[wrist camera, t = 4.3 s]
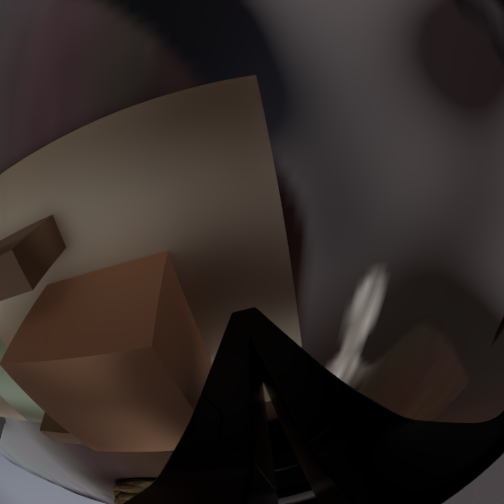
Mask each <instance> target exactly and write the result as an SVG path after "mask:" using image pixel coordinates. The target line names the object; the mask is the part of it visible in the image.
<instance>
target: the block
mask: <svg viewBox="0 0 504 504" xmlns="http://www.w3.org/2000/svg"><path fill="white" fill-rule="evenodd" d="M0 365H1V366H2V368H3V369H4V370H5V371H6V372H7V373H8V375H9V376H10V377H11V378H12V379H13V380H14V381H15V382H16V384H17V385H18V386H19V387H20V388H21V389H22V390H23V391H24V392H25V393H26V394H27V395H28V396H29V397H30V398H31V399H32V400H33V401H34V402H35V403H36V404H37V405H38V406H39V407H40V408H41V409H42V410H44V411H45V412H46V413H47V414H48V415H49V416H50V417H51V418H53V419H54V420H55V421H56V422H57V423H58V424H60V425H61V426H62V427H63V428H64V429H66V430H67V431H68V432H69V433H71V434H72V435H73V436H74V437H76V438H77V439H78V440H80V441H81V442H82V443H84V444H85V445H87V446H88V447H89V448H91V449H92V450H94V451H109V452H154V451H171V450H174V449H175V447H176V446H177V444H178V442H179V440H180V438H181V437H182V435H183V433H184V431H185V429H186V427H187V425H188V423H189V421H190V419H191V417H192V414H193V412H194V410H195V407H196V405H197V402H198V399H199V397H200V396H201V392H202V389H203V387H204V384H205V381H206V379H207V376H208V374H209V371H210V368H211V366H212V362H211V356H210V354H209V352H208V350H207V348H206V345H205V343H204V341H203V339H202V336H201V334H200V332H199V329H198V327H197V325H196V322H195V320H194V318H193V315H192V313H191V310H190V308H189V305H188V303H187V300H186V298H185V295H184V293H183V290H182V288H181V285H180V283H179V280H178V277H177V275H176V272H175V270H174V267H173V264H172V261H171V259H170V256H169V253H168V251H165V252H161V253H158V254H154V255H150V256H146V257H143V258H139V259H135V260H132V261H128V262H124V263H121V264H117V265H114V266H110V267H107V268H103V269H100V270H96V271H92V272H89V273H86V274H82V275H79V276H75V277H72V278H68V279H65V280H61V281H58V282H55V283H51V284H48V285H46V287H45V288H44V290H43V291H42V292H41V294H40V295H39V297H38V298H37V300H36V301H35V303H34V304H33V306H32V308H31V309H30V311H29V312H28V314H27V315H26V317H25V319H24V320H23V322H22V324H21V325H20V327H19V329H18V330H17V332H16V334H15V336H14V337H13V339H12V341H11V343H10V345H9V346H8V348H7V350H6V352H5V354H4V356H3V358H2V360H1V362H0Z"/></svg>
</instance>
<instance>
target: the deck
mask: <svg viewBox="0 0 504 504" xmlns="http://www.w3.org/2000/svg"><path fill="white" fill-rule="evenodd" d="M165 251H168V253H169V256H170V259H171V261H172V264H173V267H174V270H175V272H176V275H177V277H178V280H179V283H180V285H181V288H182V290H183V293H184V295H185V298H186V300H187V303H188V305H189V308H190V310H191V313H192V315H193V318H194V320H195V322H196V325H197V327H198V329H199V332H200V334H201V336H202V339H203V341H204V343H205V345H206V348H207V350H208V352H209V354H210V356H211V362H212V363H213V361H214V358H215V355H216V353H217V350H218V347H219V345H220V342H221V340H222V337H223V334H224V332H225V329H226V326H227V324H228V321H229V319H230V316H231V314H232V313H233V312H236V311H240V310H244V309H248V308H252V307H256V308H257V309H258V310H260V311H261V312H262V313H263V314H264V315H265V316H266V317H267V318H268V319H270V320H271V321H272V322H273V323H274V324H275V325H276V326H277V327H279V328H280V329H281V330H282V331H283V332H284V333H285V334H287V335H288V336H289V337H290V338H291V339H292V340H293V341H295V342H296V343H297V344H298V345H299V346H300V347H301V348H302V343H301V335H300V326H299V319H298V311H297V303H296V296H295V289H294V282H293V275H292V268H291V261H290V255H289V248H288V242H287V235H286V229H285V223H284V217H283V211H282V205H281V199H280V193H279V188H278V182H277V176H276V171H275V166H274V160H273V155H272V150H271V144H270V139H269V134H268V130H267V125H266V120H265V115H264V110H263V105H262V100H261V96H260V91H259V86H258V82H257V77H256V75H251V76H245V77H240V78H234V79H229V80H223V81H219V82H214V83H209V84H205V85H201V86H197V87H193V88H189V89H185V90H181V91H178V92H174V93H171V94H168V95H164V96H161V97H158V98H155V99H152V100H149V101H146V102H143V103H140V104H137V105H134V106H131V107H129V108H126V109H123V110H121V111H118V112H116V113H113V114H111V115H108V116H106V117H104V118H101V119H99V120H97V121H94V122H92V123H90V124H88V125H86V126H83V127H81V128H79V129H77V130H75V131H73V132H71V133H69V134H67V135H65V136H63V137H61V138H59V139H57V140H55V141H54V142H52V143H50V144H48V145H46V146H45V147H43V148H41V149H39V150H38V151H36V152H34V153H33V154H31V155H29V156H28V157H26V158H24V159H23V160H21V161H20V162H18V163H17V164H15V165H14V166H12V167H11V168H9V169H8V170H6V171H5V172H3V173H2V174H0V362H1V360H2V358H3V356H4V354H5V352H6V350H7V348H8V346H9V345H10V343H11V341H12V339H13V337H14V336H15V334H16V332H17V330H18V329H19V327H20V325H21V324H22V322H23V320H24V319H25V317H26V315H27V314H28V312H29V311H30V309H31V308H32V306H33V304H34V303H35V301H36V300H37V298H38V297H39V295H40V294H41V292H42V291H43V290H44V288H45V287H46V285H48V284H51V283H55V282H58V281H61V280H65V279H68V278H72V277H75V276H79V275H82V274H86V273H89V272H92V271H96V270H100V269H103V268H107V267H110V266H114V265H117V264H121V263H124V262H128V261H132V260H135V259H139V258H143V257H146V256H150V255H154V254H158V253H161V252H165ZM263 387H264V395H265V402H268V401H271V400H270V397H269V395H268V393H267V391H266V388H265V386H264V384H263ZM0 417H5V418H11V419H18V420H25V421H33V422H42V424H41V428H40V431H41V432H42V433H44V434H45V435H46V436H48V437H49V438H50V439H52V440H53V441H55V442H64V443H74V444H84V443H82V442H81V441H80V440H78V439H77V438H76V437H74V436H73V435H72V434H71V433H69V432H68V431H67V430H66V429H64V428H63V427H62V426H61V425H60V424H58V423H57V422H56V421H55V420H54V419H53V418H51V417H50V416H49V415H48V414H47V413H46V412H45V411H44V410H42V409H41V408H40V407H39V406H38V405H37V404H36V403H35V402H34V401H33V400H32V399H31V398H30V397H29V396H28V395H27V394H26V393H25V392H24V391H23V390H22V389H21V388H20V387H19V386H18V385H17V384H16V382H15V381H14V380H13V379H12V378H11V377H10V376H9V375H8V373H7V372H6V371H5V370H4V369H3V368H2V366H1V365H0Z"/></svg>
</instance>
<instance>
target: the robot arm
mask: <svg viewBox="0 0 504 504" xmlns="http://www.w3.org/2000/svg"><path fill="white" fill-rule="evenodd" d="M263 384H264V386H265V388H266V391H267V393H268V395H269V397H270V400H271V402H272V404H273V407H274V409H275V411H276V413H277V416H278V418H279V420H280V422H277V423H274V424H270V425H268V419H267V411H266V403H265V395H264V387H263ZM312 496H316V498H313V499H310V500H307V501H303V502H299V503H295V504H504V411H503V412H502V413H501V414H499V415H498V416H497V417H495V418H493V419H491V420H489V421H485V422H480V423H453V422H435V421H422V420H414V419H410V418H406V417H403V416H401V415H398V414H396V413H394V412H392V411H391V410H389V409H387V408H385V407H384V406H382V405H380V404H378V403H377V402H375V401H373V400H371V399H370V398H368V397H366V396H365V395H363V394H361V393H360V392H358V391H356V390H355V389H353V388H352V387H350V386H349V385H347V384H346V383H344V382H343V381H341V380H340V379H339V378H338V377H336V376H335V375H334V374H332V373H331V372H330V371H329V370H327V369H326V368H325V367H324V366H323V365H321V364H320V363H319V362H318V361H317V360H315V359H314V358H313V357H312V356H311V355H310V354H308V353H307V352H306V351H305V350H304V349H303V348H301V347H300V346H299V345H298V344H297V343H296V342H295V341H293V340H292V339H291V338H290V337H289V336H288V335H287V334H285V333H284V332H283V331H282V330H281V329H280V328H279V327H277V326H276V325H275V324H274V323H273V322H272V321H271V320H270V319H268V318H267V317H266V316H265V315H264V314H263V313H262V312H261V311H260V310H258V309H257V308H256V307H252V308H248V309H244V310H240V311H236V312H233V313H232V314H231V316H230V319H229V321H228V324H227V326H226V329H225V332H224V334H223V337H222V340H221V342H220V345H219V347H218V350H217V353H216V355H215V358H214V361H213V363H212V366H211V368H210V371H209V374H208V376H207V379H206V381H205V384H204V387H203V389H202V392H201V396H200V397H199V399H198V402H197V405H196V407H195V410H194V412H193V414H192V417H191V419H190V421H189V423H188V425H187V427H186V429H185V431H184V433H183V435H182V437H181V438H180V440H179V442H178V444H177V446H176V447H175V449H174V451H173V453H172V454H171V456H170V458H169V460H168V461H167V463H166V465H165V467H164V468H163V470H162V472H161V473H160V475H159V476H158V477H157V479H156V480H155V481H154V482H153V483H152V484H151V485H150V486H148V487H147V488H146V489H144V490H143V491H141V492H140V493H138V494H137V495H135V496H134V497H132V498H131V499H129V500H127V501H126V502H124V503H123V504H286V503H290V502H294V501H298V500H302V499H305V498H309V497H312Z"/></svg>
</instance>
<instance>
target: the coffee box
mask: <svg viewBox="0 0 504 504" xmlns="http://www.w3.org/2000/svg"><path fill="white" fill-rule="evenodd" d="M4 424H5V419H4V418H3V417H0V438H1V434H2V430H3V427H4Z"/></svg>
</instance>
